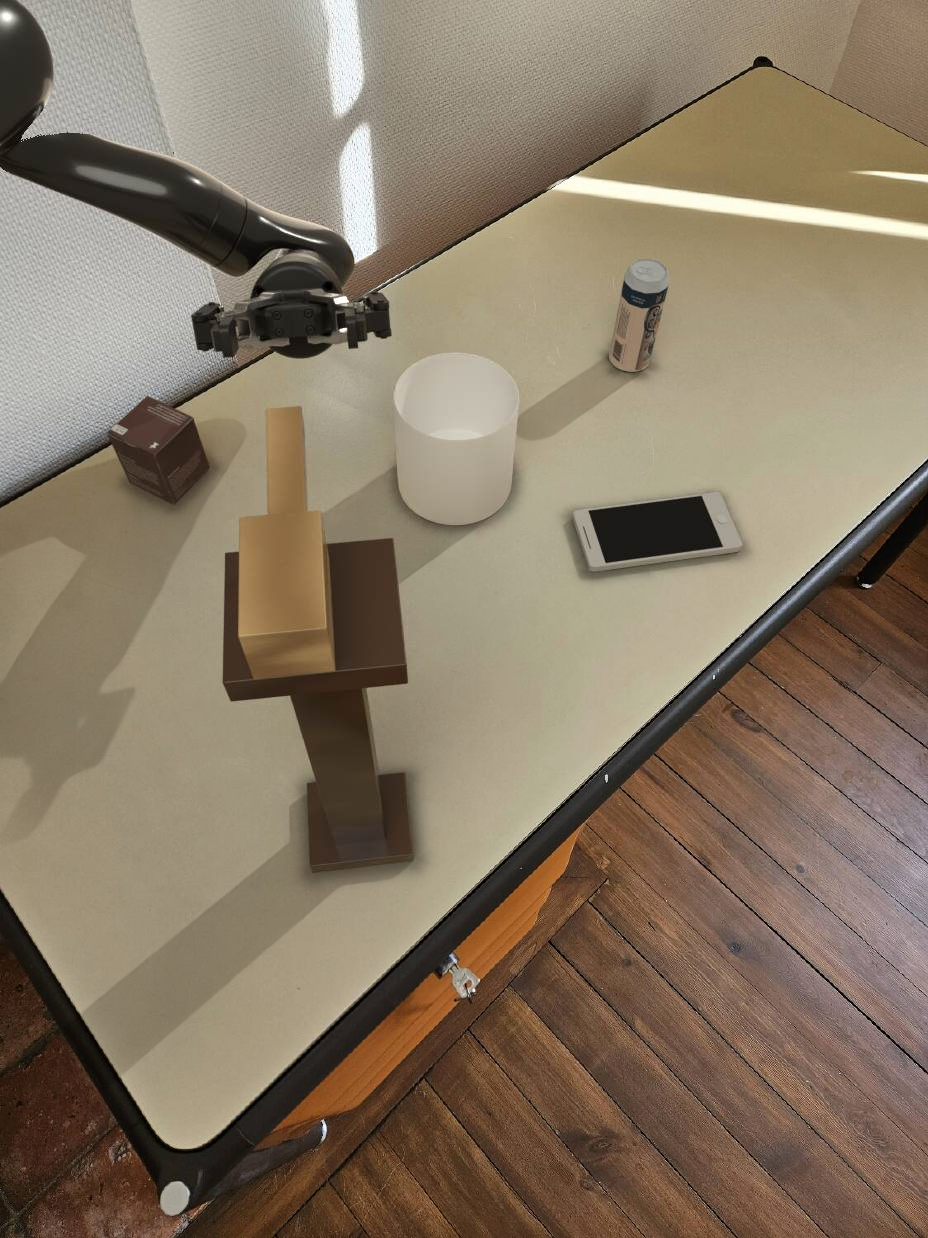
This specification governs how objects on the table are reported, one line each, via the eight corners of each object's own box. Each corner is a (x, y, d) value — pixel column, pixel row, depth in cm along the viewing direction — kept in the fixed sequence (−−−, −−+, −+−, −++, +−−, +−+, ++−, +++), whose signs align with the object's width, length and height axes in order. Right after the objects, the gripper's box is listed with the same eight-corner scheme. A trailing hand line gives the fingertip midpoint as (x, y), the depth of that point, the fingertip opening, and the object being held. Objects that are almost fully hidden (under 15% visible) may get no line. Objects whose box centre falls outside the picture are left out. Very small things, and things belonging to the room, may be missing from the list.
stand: (306, 880, 71) (222, 683, 44) (302, 784, 75) (224, 552, 48) (420, 866, 72) (406, 664, 45) (411, 773, 76) (393, 537, 49)
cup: (535, 485, 93) (546, 398, 83) (451, 545, 89) (452, 461, 79) (457, 423, 98) (459, 334, 88) (374, 478, 94) (366, 390, 83)
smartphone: (741, 551, 89) (744, 545, 88) (589, 572, 87) (590, 567, 87) (717, 496, 93) (720, 490, 92) (571, 515, 91) (572, 509, 90)
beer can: (648, 377, 102) (671, 287, 92) (606, 372, 103) (624, 281, 93) (650, 349, 105) (672, 258, 95) (609, 344, 105) (627, 252, 95)
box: (212, 468, 94) (195, 417, 88) (173, 507, 91) (154, 456, 85) (166, 445, 95) (147, 393, 89) (127, 483, 93) (104, 431, 86)
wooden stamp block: (253, 680, 44) (237, 637, 41) (253, 427, 53) (240, 375, 50) (335, 671, 45) (327, 628, 41) (321, 422, 54) (313, 370, 50)
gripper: (205, 260, 74) (172, 286, 59) (380, 249, 75) (389, 272, 61) (221, 354, 77) (193, 400, 63) (388, 342, 78) (398, 385, 64)
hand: (289, 337), depth 62 cm, fingers open, 8 cm apart
